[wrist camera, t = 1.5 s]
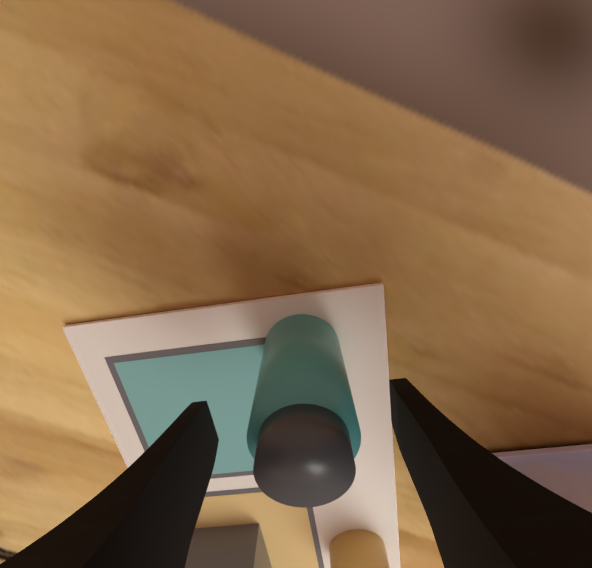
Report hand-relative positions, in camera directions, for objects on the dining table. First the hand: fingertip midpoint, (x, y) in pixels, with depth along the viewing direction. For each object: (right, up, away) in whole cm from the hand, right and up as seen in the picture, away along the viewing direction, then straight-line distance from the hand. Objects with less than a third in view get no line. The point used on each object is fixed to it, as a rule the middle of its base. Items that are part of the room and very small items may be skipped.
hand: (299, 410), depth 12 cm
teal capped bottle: (0, +2, +4) cm, 5 cm away
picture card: (-2, -7, +8) cm, 11 cm away
